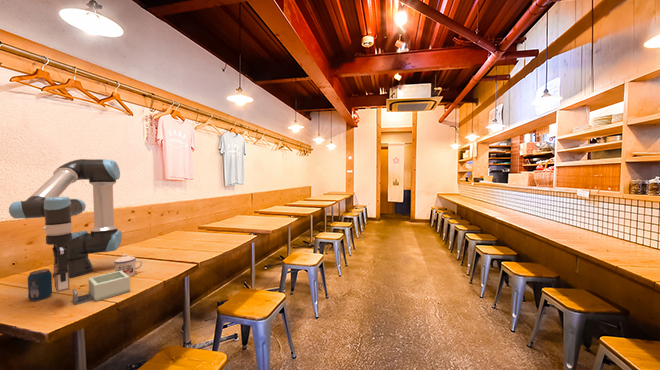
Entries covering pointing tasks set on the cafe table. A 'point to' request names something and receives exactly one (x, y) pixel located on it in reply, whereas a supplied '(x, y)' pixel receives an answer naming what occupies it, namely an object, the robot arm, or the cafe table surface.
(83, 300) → the hinge rail
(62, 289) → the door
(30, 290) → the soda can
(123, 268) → the teacup with lid
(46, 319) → the cafe table surface
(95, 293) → the pale green open box
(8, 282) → the cafe table surface
